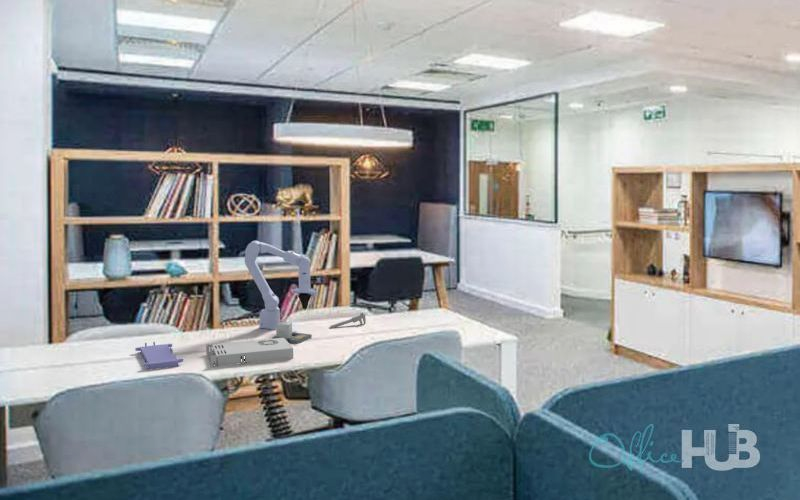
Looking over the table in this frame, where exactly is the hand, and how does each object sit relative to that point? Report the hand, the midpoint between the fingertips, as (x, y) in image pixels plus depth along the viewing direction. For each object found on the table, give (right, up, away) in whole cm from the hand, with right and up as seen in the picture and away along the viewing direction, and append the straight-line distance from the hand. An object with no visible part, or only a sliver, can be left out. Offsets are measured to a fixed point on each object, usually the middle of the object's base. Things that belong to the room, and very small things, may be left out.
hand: (304, 308), depth 320 cm
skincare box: (-6, -12, -22) cm, 26 cm away
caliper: (+21, -10, +4) cm, 23 cm away
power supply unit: (-15, -16, -51) cm, 56 cm away
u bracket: (-3, -12, -23) cm, 26 cm away
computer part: (-52, -16, -55) cm, 77 cm away
